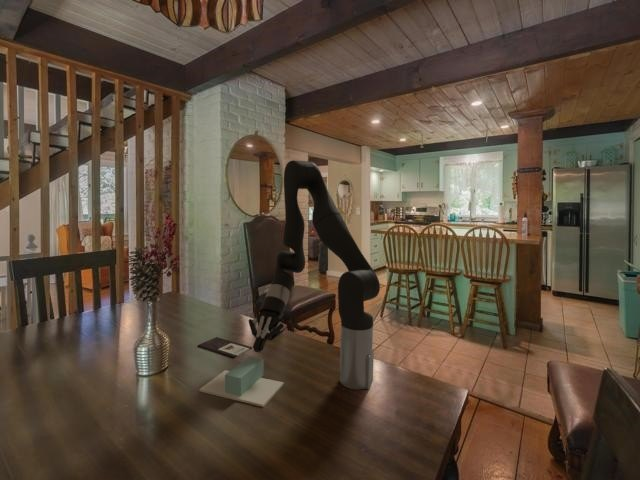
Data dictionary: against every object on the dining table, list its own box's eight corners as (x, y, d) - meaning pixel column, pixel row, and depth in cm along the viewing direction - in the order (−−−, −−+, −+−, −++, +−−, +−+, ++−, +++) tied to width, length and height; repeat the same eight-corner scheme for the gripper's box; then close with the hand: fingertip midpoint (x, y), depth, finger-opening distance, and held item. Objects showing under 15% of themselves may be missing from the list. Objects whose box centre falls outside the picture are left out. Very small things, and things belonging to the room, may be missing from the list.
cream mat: (283, 384, 95) (283, 382, 95) (263, 406, 84) (263, 404, 84) (225, 372, 101) (225, 370, 101) (199, 391, 90) (199, 389, 90)
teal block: (263, 359, 98) (240, 378, 87) (263, 375, 99) (241, 396, 87) (249, 356, 100) (225, 374, 89) (249, 372, 100) (225, 392, 89)
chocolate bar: (216, 337, 127) (251, 347, 119) (216, 339, 128) (252, 349, 119) (197, 345, 120) (233, 356, 111) (197, 347, 120) (233, 359, 111)
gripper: (254, 293, 109) (232, 342, 99) (290, 297, 104) (272, 349, 94) (262, 304, 114) (242, 352, 104) (297, 309, 110) (280, 359, 100)
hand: (256, 351), depth 99 cm, fingers closed
